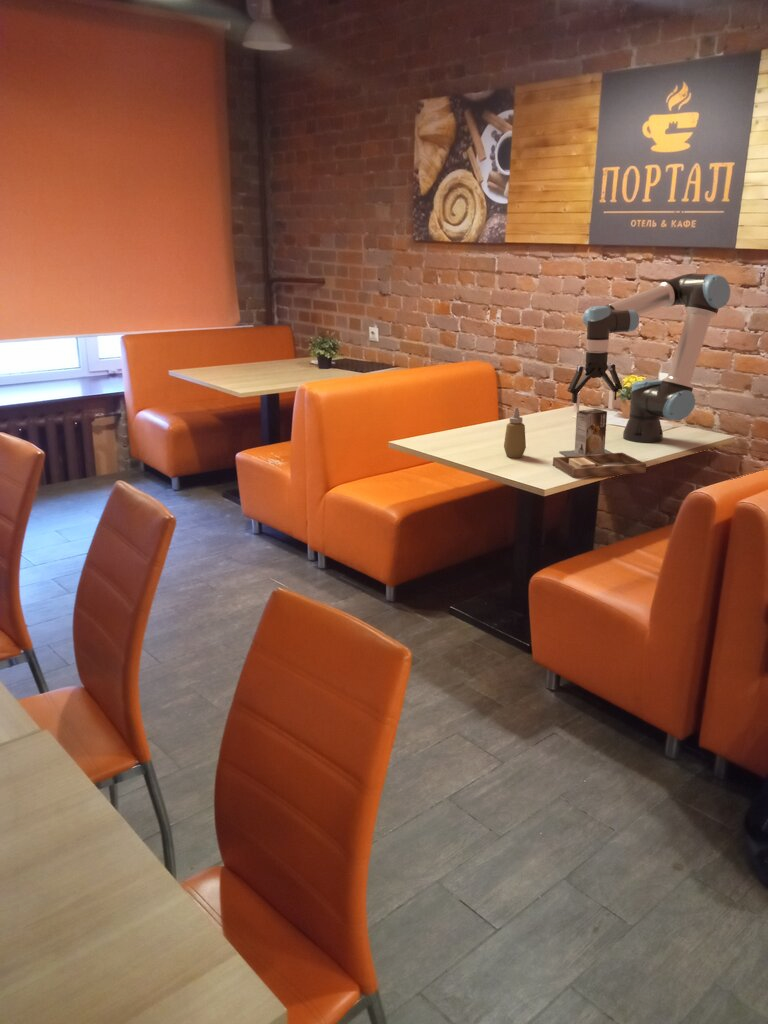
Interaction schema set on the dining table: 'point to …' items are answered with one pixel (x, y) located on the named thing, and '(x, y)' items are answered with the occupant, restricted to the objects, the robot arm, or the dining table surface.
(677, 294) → the robot arm
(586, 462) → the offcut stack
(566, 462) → the wooden tray
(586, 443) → the coffee box
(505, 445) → the squeeze bottle
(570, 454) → the mat
